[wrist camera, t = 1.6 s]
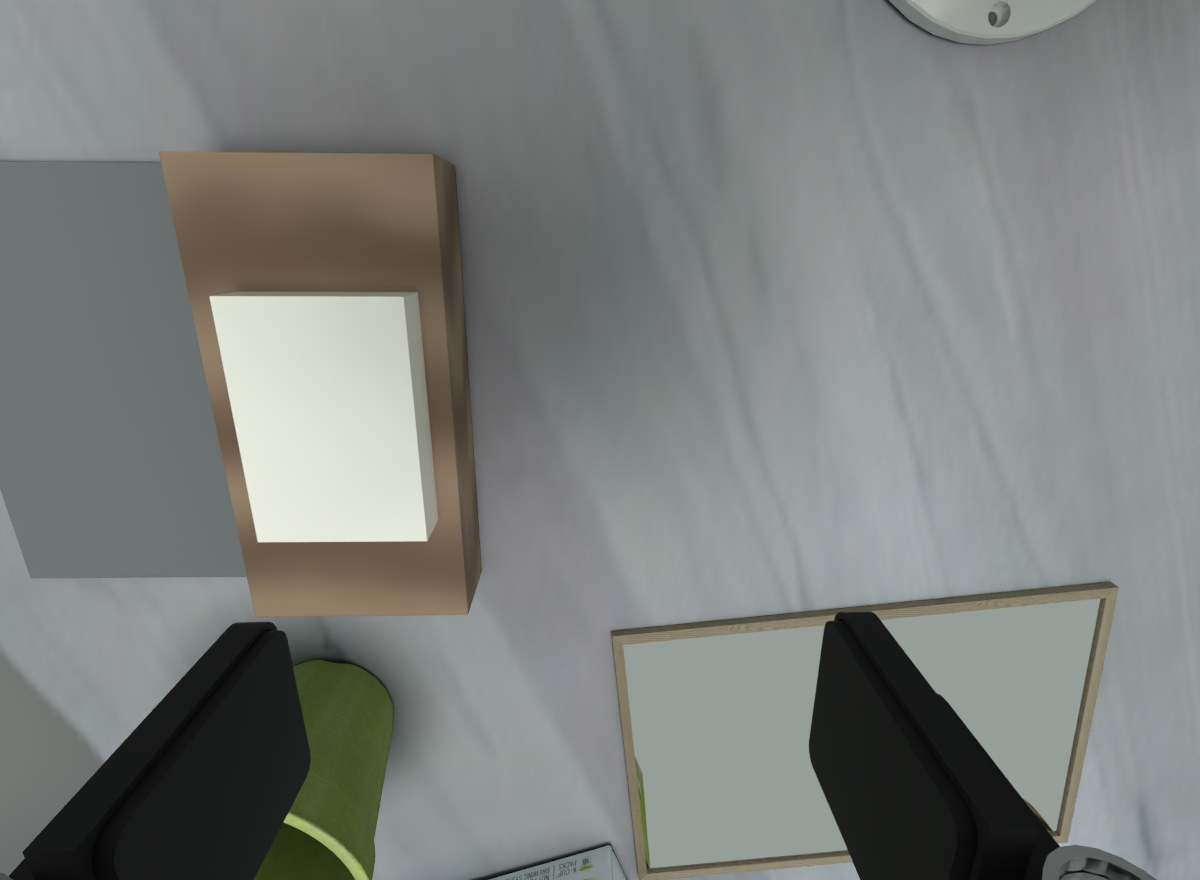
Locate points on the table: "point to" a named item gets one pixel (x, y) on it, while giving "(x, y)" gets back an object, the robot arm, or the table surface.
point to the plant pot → (335, 777)
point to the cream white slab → (330, 413)
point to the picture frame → (785, 707)
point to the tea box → (574, 868)
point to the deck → (340, 264)
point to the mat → (105, 381)
